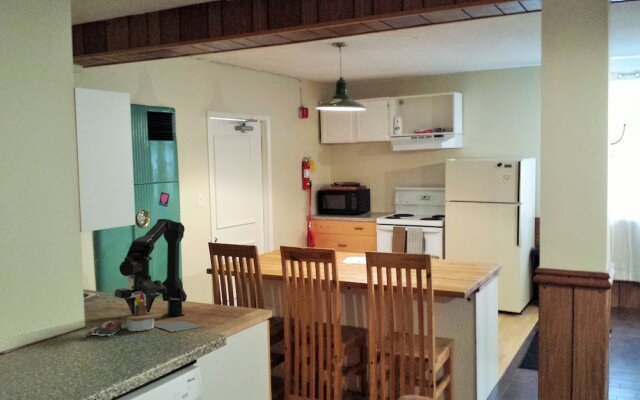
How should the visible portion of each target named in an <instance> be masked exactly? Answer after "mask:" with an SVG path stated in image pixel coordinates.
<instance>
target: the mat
mask: <svg viewBox="0 0 640 400" xmlns="http://www.w3.org/2000/svg"><path fill="white" fill-rule="evenodd" d="M156 327H157V328H156ZM154 328H156V329H159V328H162V329H167V330H174V331H180V332H185V331H191V330H195V329H200V328H201V329H202V328H203V327H202V326H201V325H198V324H194V323H190V322H189V321H184V320H182V321H177V322H170V323H163V324H157V325H154ZM162 329H161V330H162Z"/></svg>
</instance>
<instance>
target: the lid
mask: <svg viewBox="0 0 640 400" xmlns="http://www.w3.org/2000/svg"><path fill="white" fill-rule="evenodd" d="M119 317H120V318H123V319H126V320H127V319H128V320H131V321H134V322H135V321H141V320H148V319H154V320H155V319H159V318H162V314H160V313H157V312H153V311H150V312H149V313H147V309H146V304H144V305H143V304H141V305H135V314H134V315H132V313H120V314H119Z"/></svg>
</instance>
